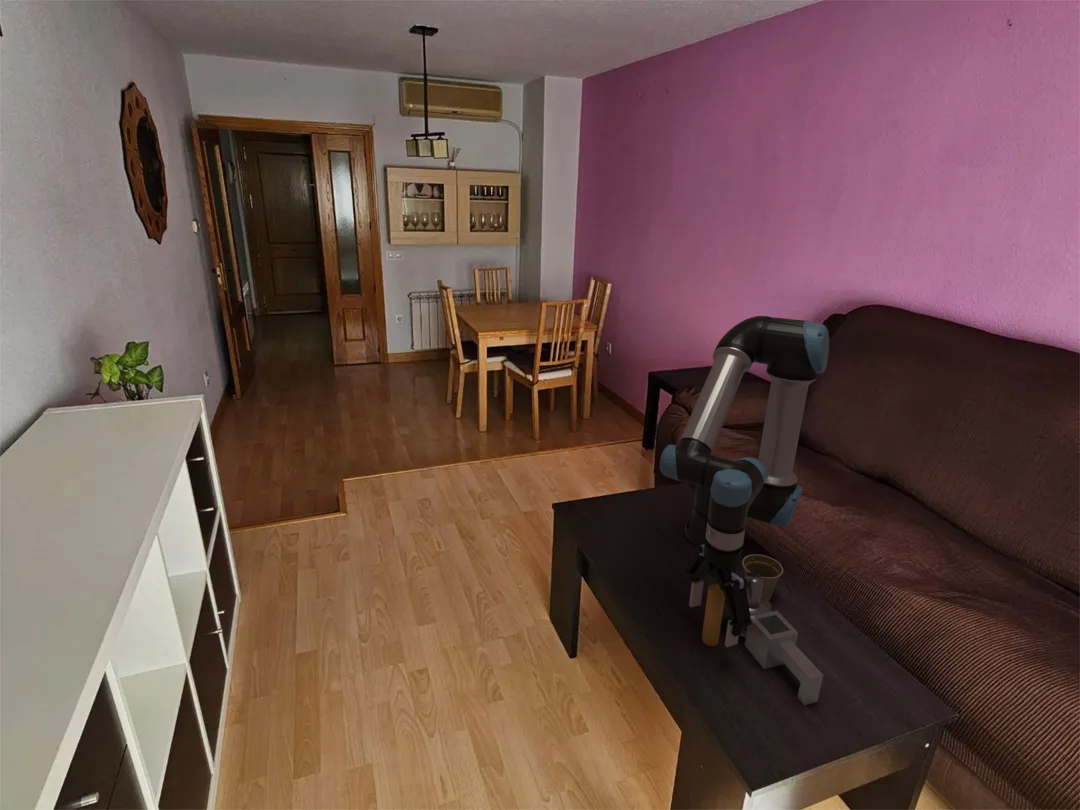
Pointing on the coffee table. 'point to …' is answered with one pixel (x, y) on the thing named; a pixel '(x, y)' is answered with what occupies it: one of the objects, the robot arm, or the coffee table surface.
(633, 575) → the coffee table surface
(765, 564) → the flower pot
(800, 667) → the rosette bracket
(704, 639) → the tapered pin
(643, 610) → the coffee table surface
